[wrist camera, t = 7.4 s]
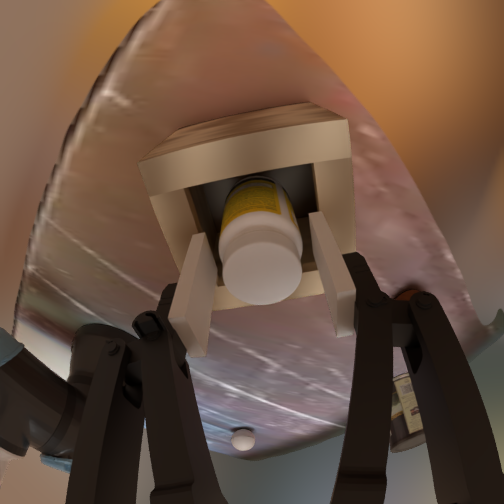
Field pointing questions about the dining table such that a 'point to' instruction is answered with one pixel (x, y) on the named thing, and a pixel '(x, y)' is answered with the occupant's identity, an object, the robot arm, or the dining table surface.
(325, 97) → the dining table surface
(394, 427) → the coffee can
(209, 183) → the drop box
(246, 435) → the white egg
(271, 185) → the supplement bottle
